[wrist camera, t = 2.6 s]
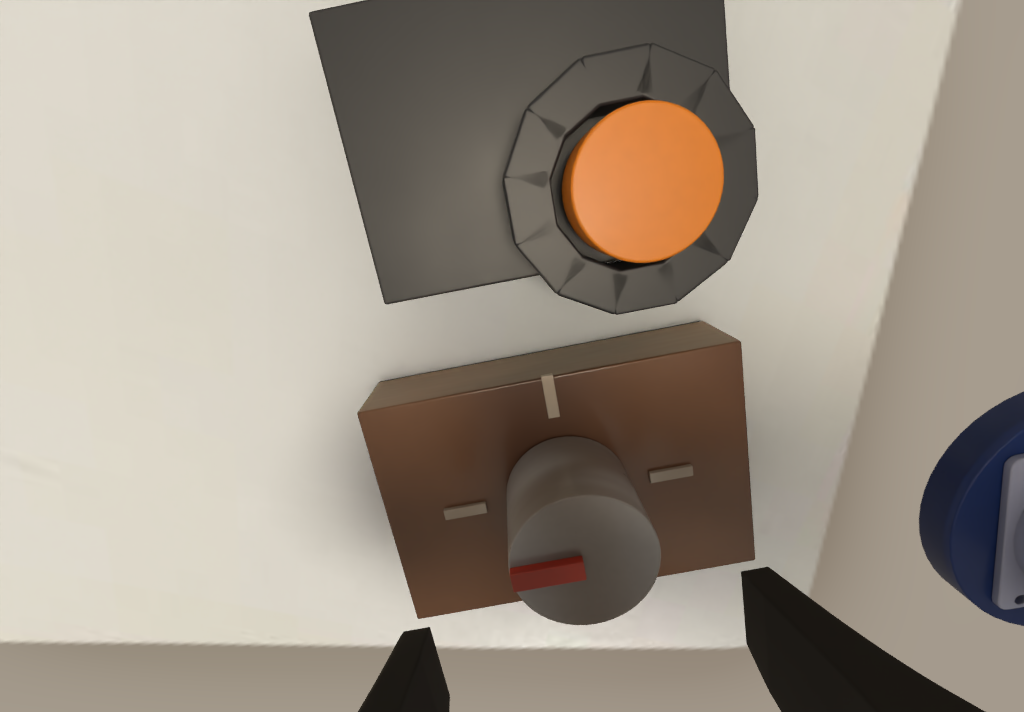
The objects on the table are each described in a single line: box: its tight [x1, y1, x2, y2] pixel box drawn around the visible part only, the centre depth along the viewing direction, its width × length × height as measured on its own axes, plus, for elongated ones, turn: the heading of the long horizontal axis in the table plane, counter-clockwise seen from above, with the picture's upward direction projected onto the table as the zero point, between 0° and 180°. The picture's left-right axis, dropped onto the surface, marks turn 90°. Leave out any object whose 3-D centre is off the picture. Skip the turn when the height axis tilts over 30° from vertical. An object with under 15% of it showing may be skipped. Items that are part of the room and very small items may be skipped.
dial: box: [507, 436, 661, 625], centre depth 15 cm, size 4×4×4 cm
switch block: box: [309, 0, 758, 315], centre depth 15 cm, size 11×9×4 cm
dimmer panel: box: [358, 321, 755, 619], centre depth 18 cm, size 12×8×3 cm
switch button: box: [562, 100, 724, 263], centre depth 13 cm, size 4×4×2 cm
